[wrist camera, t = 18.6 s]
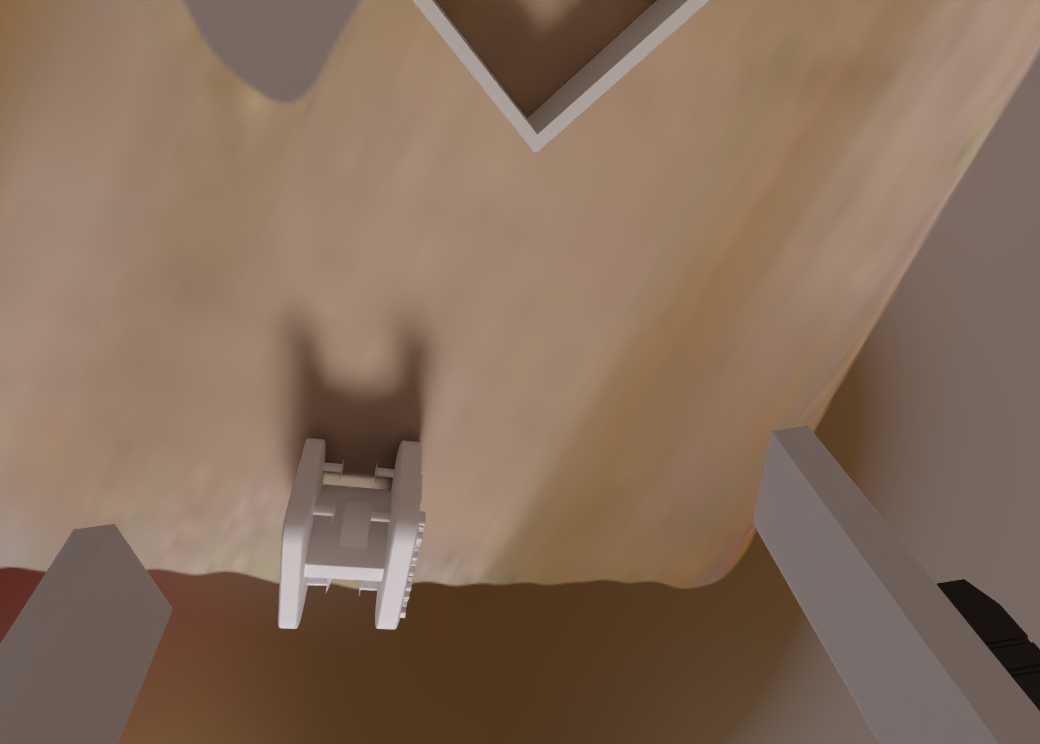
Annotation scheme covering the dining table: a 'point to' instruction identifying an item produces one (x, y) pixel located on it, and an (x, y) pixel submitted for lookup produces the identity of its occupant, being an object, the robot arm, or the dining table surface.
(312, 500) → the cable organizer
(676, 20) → the white open storage bin
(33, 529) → the dining table surface
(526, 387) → the dining table surface
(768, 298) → the dining table surface
